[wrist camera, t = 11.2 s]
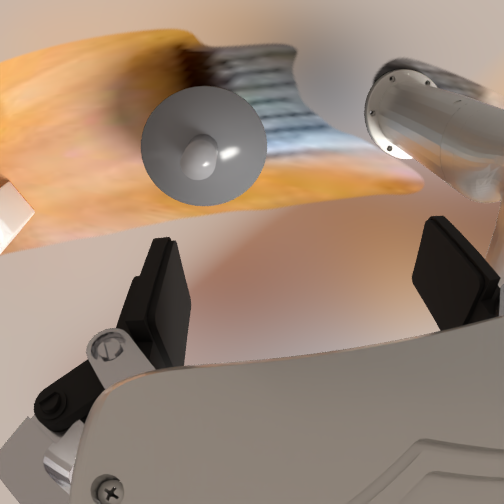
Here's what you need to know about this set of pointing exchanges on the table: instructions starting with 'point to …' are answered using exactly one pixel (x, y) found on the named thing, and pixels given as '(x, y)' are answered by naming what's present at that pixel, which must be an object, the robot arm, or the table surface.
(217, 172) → the lid
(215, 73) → the table surface
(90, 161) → the table surface
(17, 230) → the medicine bottle
